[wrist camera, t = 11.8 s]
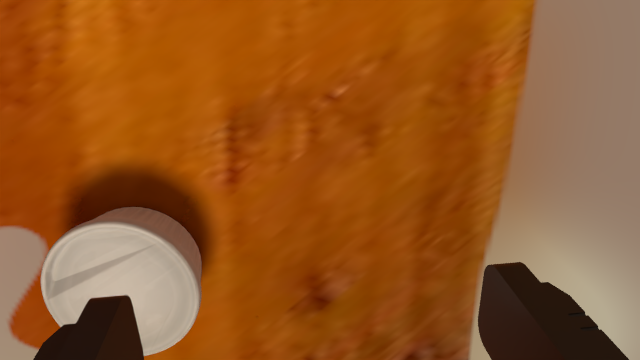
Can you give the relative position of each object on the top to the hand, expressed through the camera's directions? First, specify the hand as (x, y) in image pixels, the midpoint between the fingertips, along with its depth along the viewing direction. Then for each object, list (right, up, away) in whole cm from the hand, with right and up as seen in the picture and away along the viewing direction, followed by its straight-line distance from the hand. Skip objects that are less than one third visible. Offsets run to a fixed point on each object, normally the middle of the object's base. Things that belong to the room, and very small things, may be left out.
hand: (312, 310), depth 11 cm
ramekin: (-14, -3, +28) cm, 32 cm away
